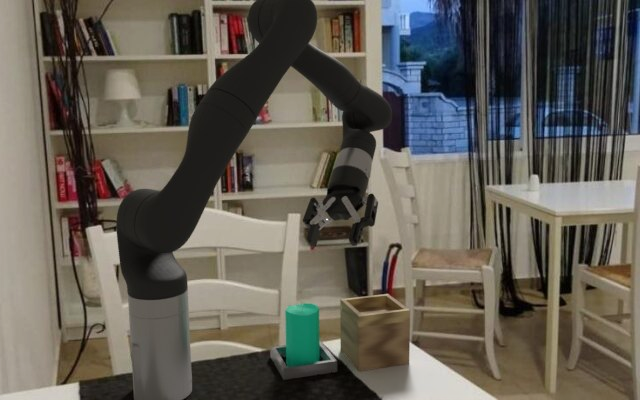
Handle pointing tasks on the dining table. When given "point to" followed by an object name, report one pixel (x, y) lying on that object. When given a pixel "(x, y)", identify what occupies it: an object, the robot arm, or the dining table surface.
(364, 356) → the wooden storage box
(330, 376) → the dining table surface
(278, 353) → the grey square tray
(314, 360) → the candle
